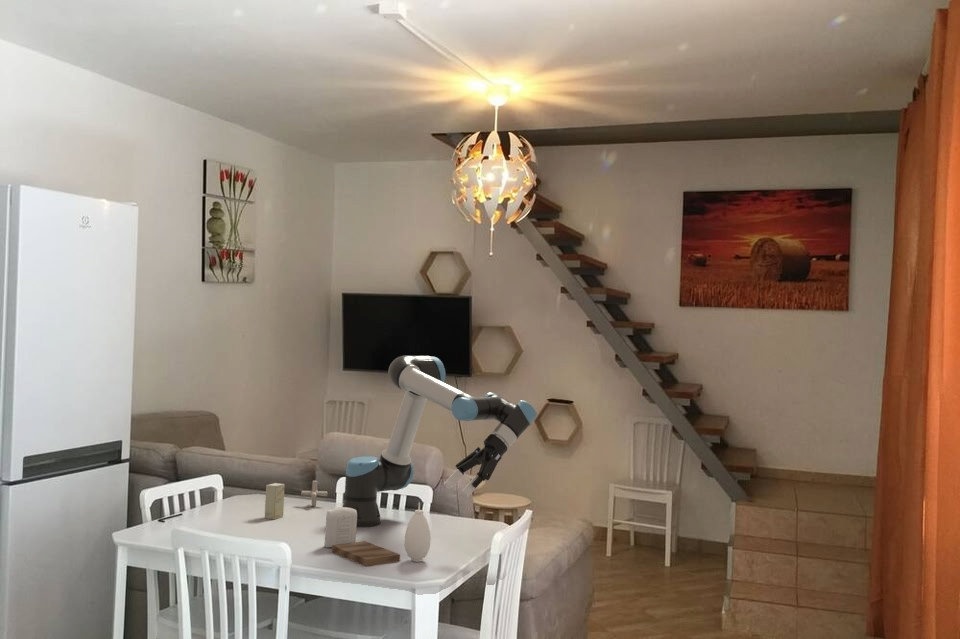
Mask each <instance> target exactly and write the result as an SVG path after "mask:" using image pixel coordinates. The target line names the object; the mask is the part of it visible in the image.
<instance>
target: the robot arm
mask: <svg viewBox="0 0 960 639" xmlns="http://www.w3.org/2000/svg"><path fill="white" fill-rule="evenodd" d="M446 374H447V373H446V368H445V366H444V363H443V361H441V359H440V358H438V357H436V356H430V355H405V354H403V355H401V356H397V357H396V358H395V359H393V361H392V362H391V363H390V365H389V367H388V375H387V376H388V378H389V380H390V382H391V383H392V385H393V386H395V387H396V388H398V389H400V390H402V391H404V395H403V398H402V401H401V404H400V406H399V410H398V413H397V417H396V420H395V422H394V426H393V429H392V432H391V435H390V439H389V442H388V445H387V447H386V448H385V449H384V450H381V454H380V456H379V458H378V457H376V456H370V455H369V456H367V455H366V456H358V457H353V458H350V459H349V460H348V461H347V463H346V467H345V468H346V469H345V483H344V484H345V485H344V501H343V504H342V506H341V507H347V508H352V509H355V510H356V511H357V526H356V528H357V527H358V528H360V527H361V528H362V527H365V528H366V527H375V526H378V525H380V524H381V513H380V510H379V506H378V501H377V500H378V493H380V492H387V491H399V490H403V489H404V488H407V487H408V486H409V485H410V484H411V482H412V480H413V478H414V473H415V471H414V470H413V469H414V465H413V463H412V457H410V453H411V451H412V447H413V444H414V442H415V438H416V436H417V432H418V429H419V425H420V422H421V420H422V417H423V414H424V410H425V407H426V404H427V401H429V402H432V403H434V404H435V405H437V406H439V407H441V408H443V409H445V410H447V411H449V412H451V413H452V415H453V417H454V419H456V420H457V421H461V422H462V421H463V422H470V421H471V422H472V421H473V422H474V421H488V420H489V421H490V420H495V421H497V422H499V424H498V425H497V426H496V427H495V428H494V429H493V430H492V432H491V434H489V435H488V436H487V437H486V438H485V439H484V440H483V445H484V447H483V448H482V449H481V447H480V446H478V447H477V448H475V449H474V450H473V451H472V452H471V453H470V454H469V455H467V456H465V458H462V460H461V461H459V462H458V463H457V464H456V465H455V468H456V469H455V470H454V472H453V473H452V474H451V475H450V476H449V477H448V478H447V479H446V480H445V481H444V482H443V485H444V486H445V487H446V488H447V489H448V490H451V489H452V488H453V487H454V486H455V485H456V484H457V482H458V481H460V479H461V478H462V477H463V476H465V473H466V472H468V471H469V470H471V469H473V468H474V467H476V466H480V467H479V471H478V472H477V473H475V474H474V476H473V477H472V478H471V479H470V480H469V482H468V483H467V484H466V485H465V486H464V487H463V489H462V490H461V491H462V492H463V494H464V495H465V496H466V497H468V498H469V497H470V496H471V494H473V493H474V491H475V490H476V489H477V488H478V487H479V485H480V484H481V483H482V482H484V481H489V480H490V479H491V476H492V474H493V473H494V471H495V469H496V467H497V465H498V463H499V462H500V461H501V459H502V457H503V456H504V454H506V452H507V451H508V449H509V448H511V447H512V446H513V445H514V444H515V442H516V440H518V438H519V437H520V436H521V435H522V434H523V433H524V432H525V431H526V430H527V429H528V427H530V426H532V423H533V422H534V421H535V419H536V418H537V416H538V414H537V411H536V409H535V408H534V406H533V405H532V404H531V403H530V402H528V401H526V400H520V401H519V402H517V403H513V402H512V401H510V400H508V399H505V398H504V397H502V396H501V395H499V394H497V393H494V392H487V393H486V394H484V395H482V396H473V395H471V394H468V393H466V392H464V391H462V390H460V389H458V388H456V387H454V386H452V385H450V384H447V383H446Z"/></svg>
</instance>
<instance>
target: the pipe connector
mask: <svg viewBox="0 0 960 639" xmlns="http://www.w3.org/2000/svg"><path fill="white" fill-rule="evenodd" d="M300 494H301V496H307V497H308V496H309V497H310V498H311V504H310V505H311V506H316V507H317V497H328V491H326V490H325V491H323V490H321V491H320V490H319V491H318V480H312V488H311V490H301V493H300Z"/></svg>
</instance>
